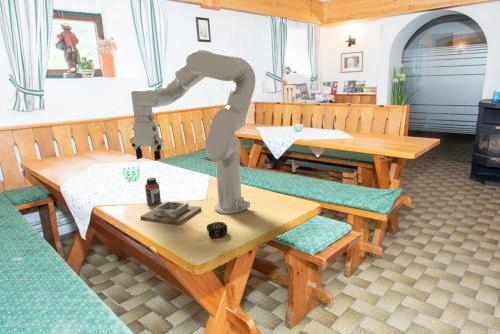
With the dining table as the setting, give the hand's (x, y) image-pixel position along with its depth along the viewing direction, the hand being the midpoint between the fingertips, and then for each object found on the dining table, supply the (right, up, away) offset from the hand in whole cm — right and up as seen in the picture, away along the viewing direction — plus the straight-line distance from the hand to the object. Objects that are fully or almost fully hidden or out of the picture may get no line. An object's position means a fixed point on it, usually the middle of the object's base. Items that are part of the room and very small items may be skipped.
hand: (148, 159), depth 152 cm
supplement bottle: (+1, -20, +5) cm, 20 cm away
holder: (+12, -23, -10) cm, 27 cm away
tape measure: (+32, -27, -30) cm, 52 cm away
